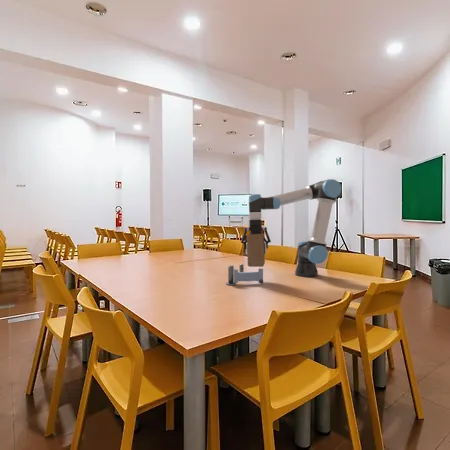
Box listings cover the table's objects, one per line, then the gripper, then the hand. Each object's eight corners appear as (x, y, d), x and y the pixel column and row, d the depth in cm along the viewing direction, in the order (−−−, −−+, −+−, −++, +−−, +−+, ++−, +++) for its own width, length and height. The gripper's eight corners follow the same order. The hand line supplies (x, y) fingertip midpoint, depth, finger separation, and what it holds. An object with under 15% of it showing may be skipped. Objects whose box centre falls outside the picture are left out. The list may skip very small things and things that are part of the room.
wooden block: (263, 267, 189) (263, 234, 188) (247, 266, 191) (246, 234, 190) (264, 264, 198) (264, 233, 198) (249, 264, 200) (248, 233, 200)
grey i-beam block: (262, 282, 188) (262, 268, 188) (263, 283, 185) (263, 269, 185) (234, 282, 187) (234, 268, 187) (234, 284, 184) (234, 269, 184)
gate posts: (246, 278, 204) (246, 261, 203) (233, 285, 182) (233, 267, 182) (238, 277, 206) (238, 260, 205) (224, 284, 184) (224, 266, 184)
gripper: (272, 218, 198) (273, 252, 199) (236, 219, 196) (236, 253, 197) (275, 218, 190) (275, 254, 191) (237, 219, 189) (238, 255, 190)
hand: (256, 254), depth 194 cm, fingers closed on wooden block, 11 cm apart
